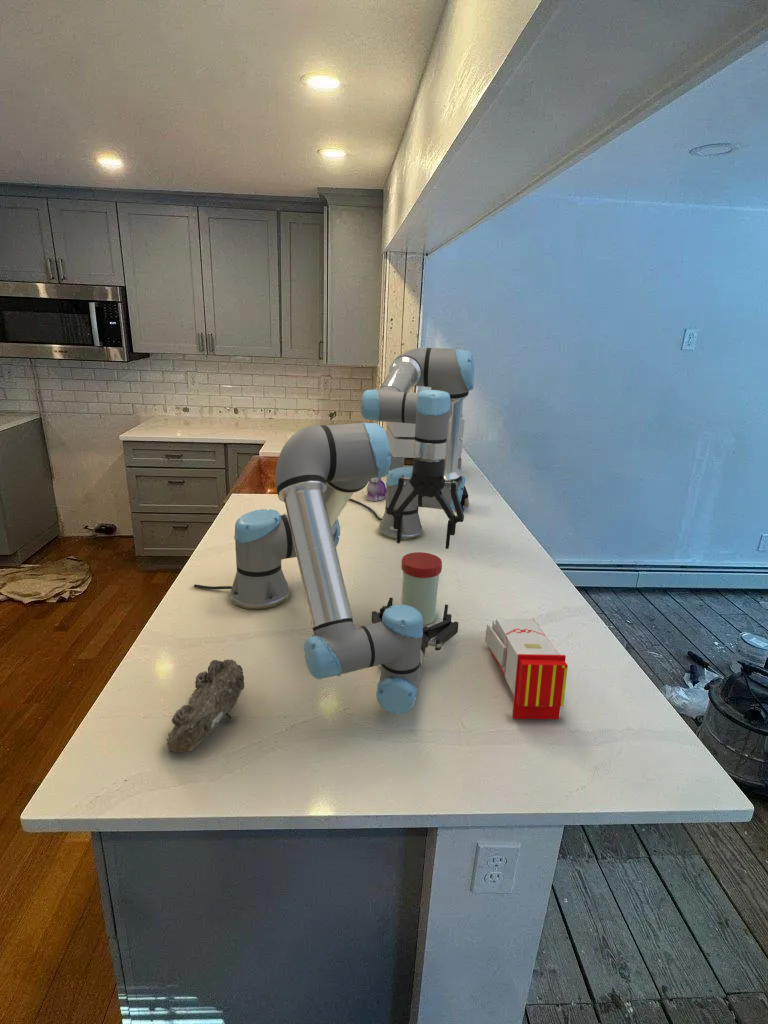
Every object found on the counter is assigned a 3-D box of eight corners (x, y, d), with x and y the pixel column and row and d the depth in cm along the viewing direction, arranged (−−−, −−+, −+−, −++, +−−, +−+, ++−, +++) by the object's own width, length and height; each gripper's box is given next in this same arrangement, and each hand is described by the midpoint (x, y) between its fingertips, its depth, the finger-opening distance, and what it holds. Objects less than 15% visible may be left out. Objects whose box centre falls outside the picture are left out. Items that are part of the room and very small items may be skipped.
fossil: (192, 660, 117) (244, 628, 112) (224, 691, 120) (276, 661, 115) (142, 746, 98) (202, 712, 93) (182, 779, 101) (242, 748, 96)
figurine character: (468, 516, 224) (463, 500, 237) (471, 498, 221) (465, 483, 234) (452, 515, 224) (447, 499, 237) (453, 498, 220) (449, 482, 234)
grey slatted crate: (382, 463, 289) (386, 382, 275) (445, 464, 293) (451, 384, 279) (390, 482, 257) (394, 392, 243) (460, 483, 261) (468, 394, 247)
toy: (531, 603, 136) (576, 661, 106) (526, 655, 139) (569, 725, 109) (481, 602, 135) (512, 660, 106) (477, 654, 138) (507, 724, 109)
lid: (449, 574, 140) (449, 565, 139) (413, 580, 136) (413, 571, 135) (428, 558, 149) (429, 549, 148) (394, 564, 144) (394, 555, 144)
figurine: (371, 503, 230) (372, 467, 224) (360, 495, 238) (361, 460, 233) (391, 500, 234) (393, 465, 229) (380, 493, 242) (381, 459, 237)
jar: (441, 621, 145) (446, 566, 140) (410, 628, 141) (414, 572, 136) (424, 605, 153) (428, 552, 147) (394, 611, 149) (397, 557, 144)
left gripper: (348, 661, 122) (368, 612, 142) (464, 678, 118) (468, 625, 138) (348, 631, 120) (369, 586, 139) (467, 647, 116) (471, 598, 136)
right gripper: (480, 458, 134) (472, 543, 141) (382, 450, 138) (379, 533, 145) (479, 466, 127) (470, 555, 135) (376, 457, 131) (373, 544, 138)
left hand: (418, 605), depth 139 cm, fingers open, 13 cm apart
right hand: (423, 544), depth 140 cm, fingers open, 11 cm apart
